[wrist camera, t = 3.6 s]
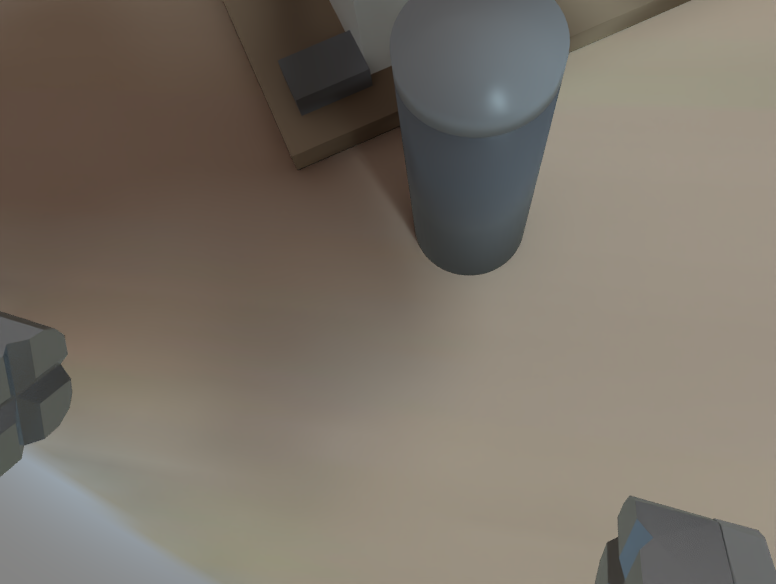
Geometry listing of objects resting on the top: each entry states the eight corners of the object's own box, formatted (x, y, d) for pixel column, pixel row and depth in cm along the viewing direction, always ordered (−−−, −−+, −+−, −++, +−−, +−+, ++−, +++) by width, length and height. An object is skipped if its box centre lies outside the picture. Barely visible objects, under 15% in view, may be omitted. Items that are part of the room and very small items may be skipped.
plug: (493, 160, 25) (518, -55, 15) (543, 247, 23) (603, 72, 14) (398, 201, 24) (362, 11, 15) (442, 292, 23) (434, 145, 14)
